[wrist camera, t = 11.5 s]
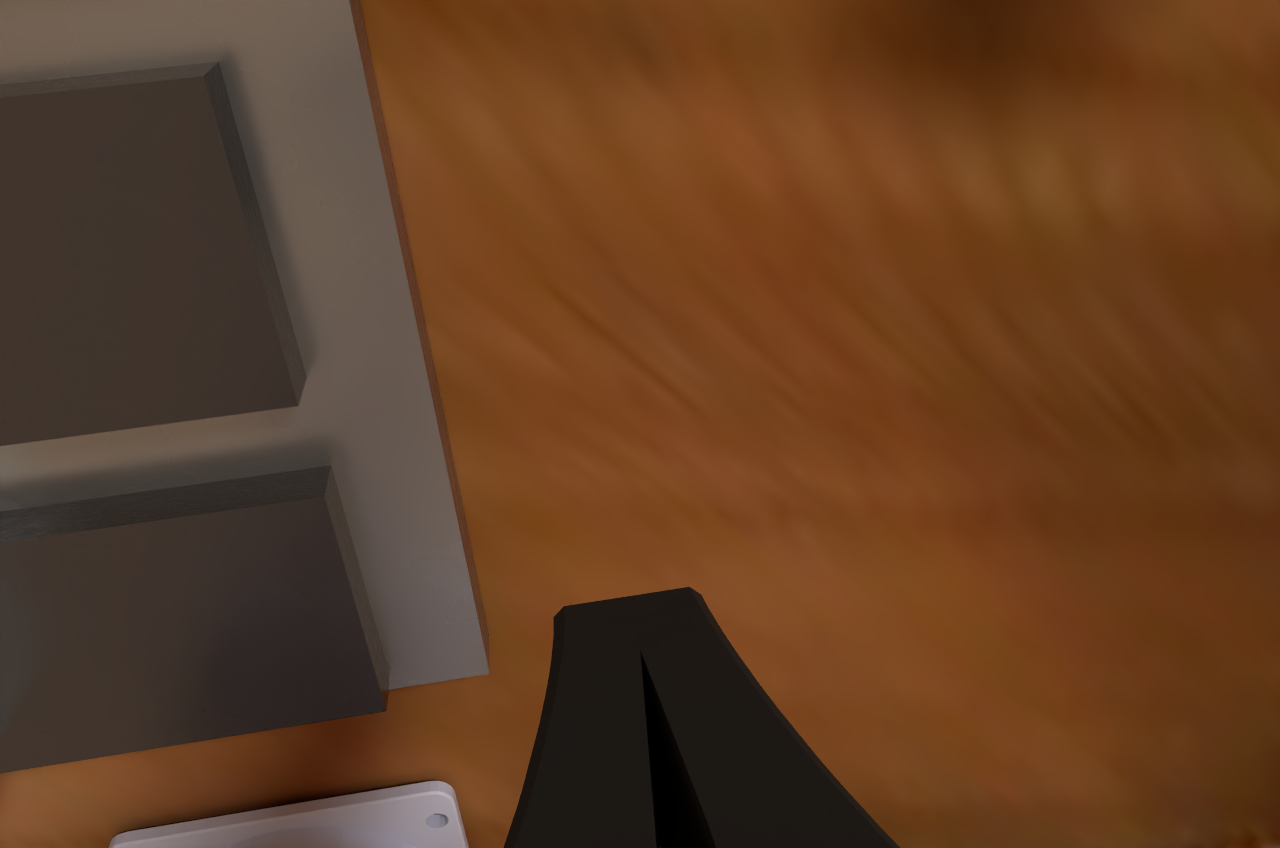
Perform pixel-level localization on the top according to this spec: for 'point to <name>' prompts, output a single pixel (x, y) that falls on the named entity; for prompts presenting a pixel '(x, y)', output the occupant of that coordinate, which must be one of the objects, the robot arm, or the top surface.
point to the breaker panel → (211, 385)
